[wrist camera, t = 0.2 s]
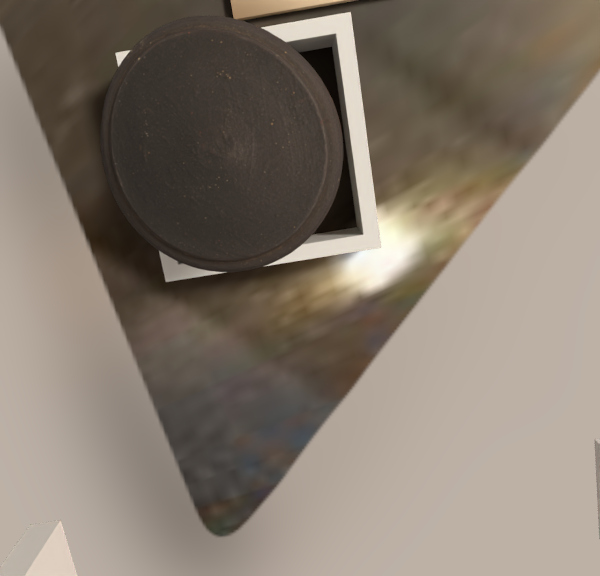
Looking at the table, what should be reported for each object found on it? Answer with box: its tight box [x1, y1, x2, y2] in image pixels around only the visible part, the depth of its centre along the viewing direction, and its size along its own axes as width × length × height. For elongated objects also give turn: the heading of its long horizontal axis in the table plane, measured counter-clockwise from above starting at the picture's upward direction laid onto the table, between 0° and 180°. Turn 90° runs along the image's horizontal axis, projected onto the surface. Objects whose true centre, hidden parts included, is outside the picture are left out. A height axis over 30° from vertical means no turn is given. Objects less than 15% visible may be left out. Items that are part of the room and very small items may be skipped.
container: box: [100, 16, 343, 272], centre depth 29 cm, size 9×9×20 cm
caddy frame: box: [116, 12, 381, 282], centre depth 36 cm, size 14×14×4 cm
